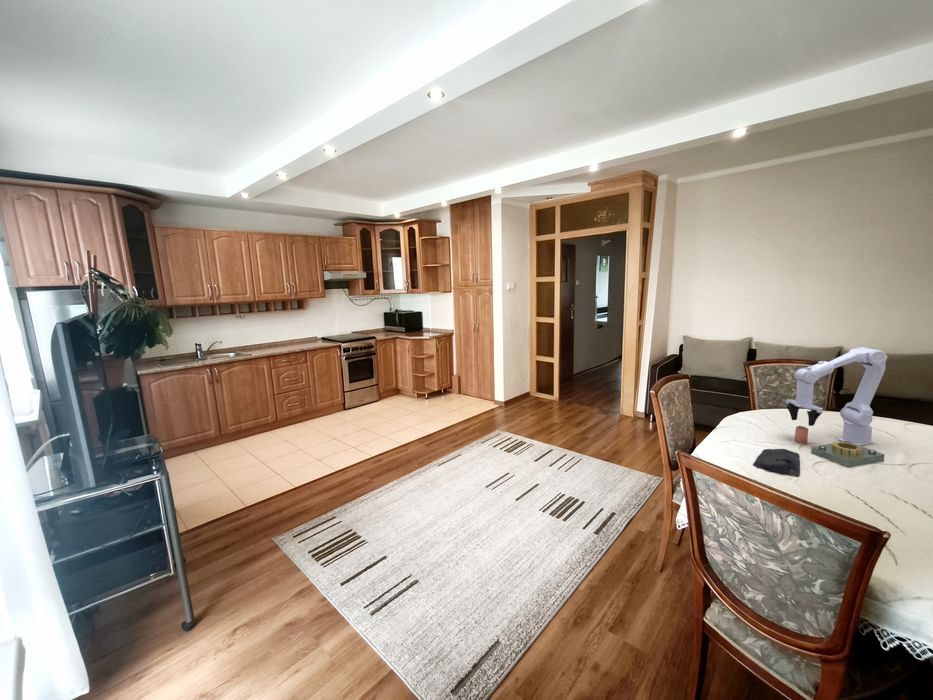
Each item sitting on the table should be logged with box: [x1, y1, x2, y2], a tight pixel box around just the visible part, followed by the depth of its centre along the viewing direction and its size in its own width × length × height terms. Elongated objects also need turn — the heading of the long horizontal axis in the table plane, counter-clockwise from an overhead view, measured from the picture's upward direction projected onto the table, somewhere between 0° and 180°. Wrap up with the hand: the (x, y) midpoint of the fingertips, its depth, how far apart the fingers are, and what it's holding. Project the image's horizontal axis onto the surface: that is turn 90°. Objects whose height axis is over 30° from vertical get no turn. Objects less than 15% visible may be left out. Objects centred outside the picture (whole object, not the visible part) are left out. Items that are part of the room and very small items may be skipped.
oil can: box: [794, 425, 809, 445], centre depth 174 cm, size 4×4×8 cm
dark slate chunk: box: [752, 448, 801, 477], centre depth 158 cm, size 15×22×5 cm
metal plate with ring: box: [810, 441, 885, 469], centre depth 158 cm, size 18×14×5 cm
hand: (802, 422), depth 173 cm, fingers open, 7 cm apart
